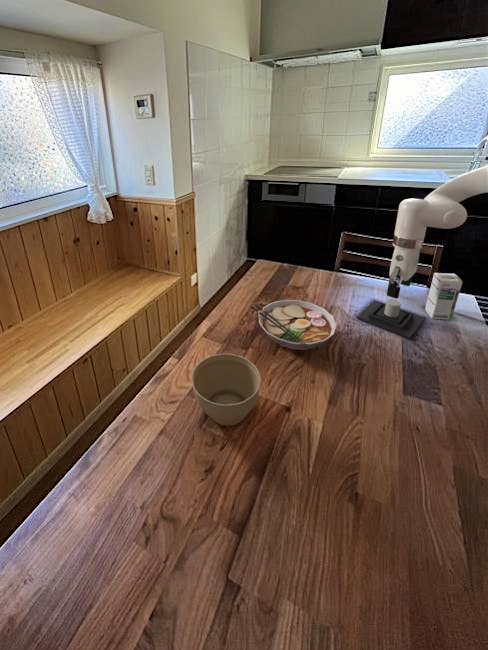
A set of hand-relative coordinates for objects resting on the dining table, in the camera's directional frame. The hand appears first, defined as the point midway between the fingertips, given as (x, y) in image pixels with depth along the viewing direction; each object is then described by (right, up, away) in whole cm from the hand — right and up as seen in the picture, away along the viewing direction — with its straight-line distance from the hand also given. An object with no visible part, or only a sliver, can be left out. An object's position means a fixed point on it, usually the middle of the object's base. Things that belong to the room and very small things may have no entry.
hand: (398, 290), depth 107 cm
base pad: (0, -10, +5) cm, 11 cm away
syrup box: (+16, -9, +5) cm, 19 cm away
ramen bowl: (-33, -15, -1) cm, 37 cm away
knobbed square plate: (0, -9, +4) cm, 10 cm away
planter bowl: (-57, -27, -23) cm, 68 cm away
